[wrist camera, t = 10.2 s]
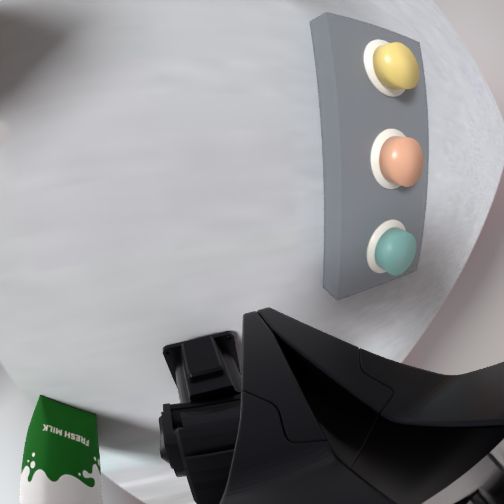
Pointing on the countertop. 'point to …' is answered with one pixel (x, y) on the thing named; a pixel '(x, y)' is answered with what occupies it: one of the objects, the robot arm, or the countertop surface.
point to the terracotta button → (401, 160)
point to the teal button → (395, 251)
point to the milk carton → (61, 457)
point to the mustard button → (396, 66)
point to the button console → (364, 151)
